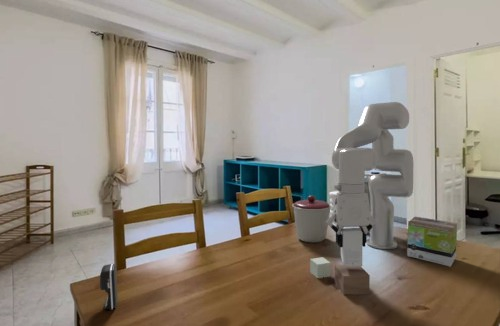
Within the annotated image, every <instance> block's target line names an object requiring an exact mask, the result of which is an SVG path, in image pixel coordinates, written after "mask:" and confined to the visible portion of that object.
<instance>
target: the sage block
mask: <svg viewBox="0 0 500 326" xmlns="http://www.w3.org/2000/svg"><path fill="white" fill-rule="evenodd" d="M309 261H310V262H309V265H310V266H309V267H310V272H309V273H310V274H311V275H313V276H314V277H315V278H316V279H317V278H319V279H323V277H324V278H329V277H331V262H330V261H329V260H327V259H326V258H325V257H316V258H315V257H314V258H310V259H309Z"/></svg>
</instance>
